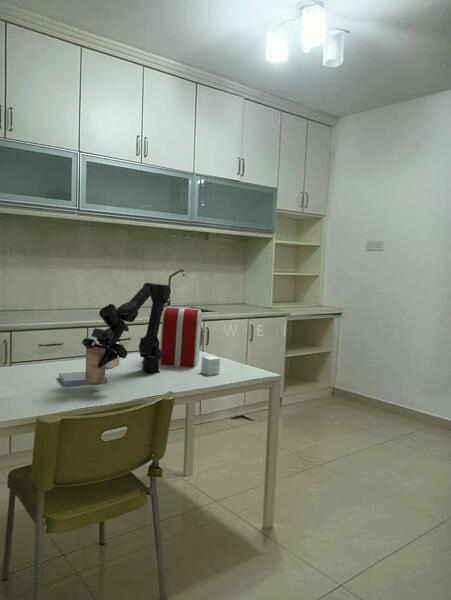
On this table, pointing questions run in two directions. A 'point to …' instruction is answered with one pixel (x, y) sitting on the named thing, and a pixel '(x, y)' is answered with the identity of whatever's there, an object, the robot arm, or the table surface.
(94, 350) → the brown block
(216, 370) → the product box
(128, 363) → the table surface
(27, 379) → the table surface
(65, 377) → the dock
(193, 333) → the red striped box
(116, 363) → the small box
